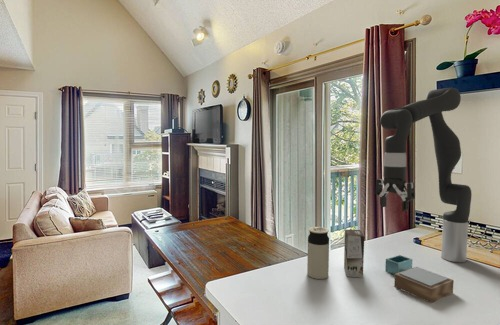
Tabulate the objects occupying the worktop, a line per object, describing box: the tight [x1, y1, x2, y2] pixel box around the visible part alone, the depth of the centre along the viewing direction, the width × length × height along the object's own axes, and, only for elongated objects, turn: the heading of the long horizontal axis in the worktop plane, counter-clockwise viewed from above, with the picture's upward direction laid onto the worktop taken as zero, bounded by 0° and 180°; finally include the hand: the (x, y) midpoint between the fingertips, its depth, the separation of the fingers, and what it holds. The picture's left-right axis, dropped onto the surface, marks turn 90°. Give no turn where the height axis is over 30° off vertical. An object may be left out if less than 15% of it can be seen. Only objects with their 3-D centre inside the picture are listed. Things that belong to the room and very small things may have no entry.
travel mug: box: [306, 226, 330, 280], centre depth 118 cm, size 8×8×18 cm
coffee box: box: [343, 228, 366, 279], centre depth 120 cm, size 9×6×16 cm
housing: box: [385, 254, 413, 276], centre depth 122 cm, size 9×6×5 cm, turn 120°
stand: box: [393, 266, 454, 304], centre depth 107 cm, size 13×13×5 cm
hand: (393, 208), depth 113 cm, fingers open, 8 cm apart
